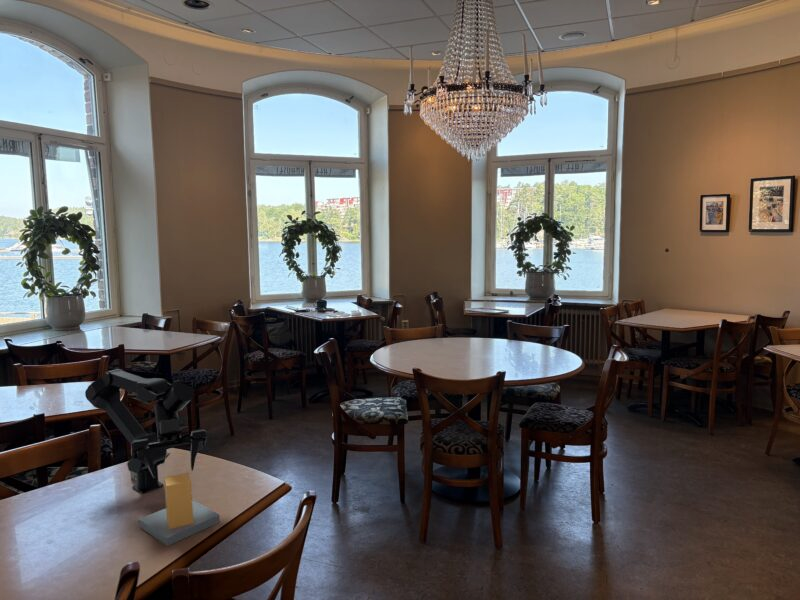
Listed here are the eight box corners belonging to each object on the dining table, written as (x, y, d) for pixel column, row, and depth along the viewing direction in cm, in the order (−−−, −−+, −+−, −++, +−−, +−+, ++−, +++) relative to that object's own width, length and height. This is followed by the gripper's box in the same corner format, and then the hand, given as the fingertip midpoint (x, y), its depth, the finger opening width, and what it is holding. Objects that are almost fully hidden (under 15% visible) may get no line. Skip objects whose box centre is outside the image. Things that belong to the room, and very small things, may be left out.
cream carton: (166, 518, 138) (164, 477, 137) (190, 513, 141) (187, 472, 140) (169, 529, 133) (166, 486, 132) (193, 523, 136) (191, 481, 135)
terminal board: (139, 526, 138) (138, 507, 138) (190, 505, 149) (189, 487, 149) (167, 545, 130) (166, 526, 129) (219, 522, 140) (218, 503, 140)
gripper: (129, 411, 141) (133, 468, 133) (205, 400, 150) (213, 453, 141) (129, 431, 149) (134, 486, 140) (201, 420, 158) (210, 471, 149)
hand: (173, 473), depth 143 cm, fingers open, 9 cm apart
